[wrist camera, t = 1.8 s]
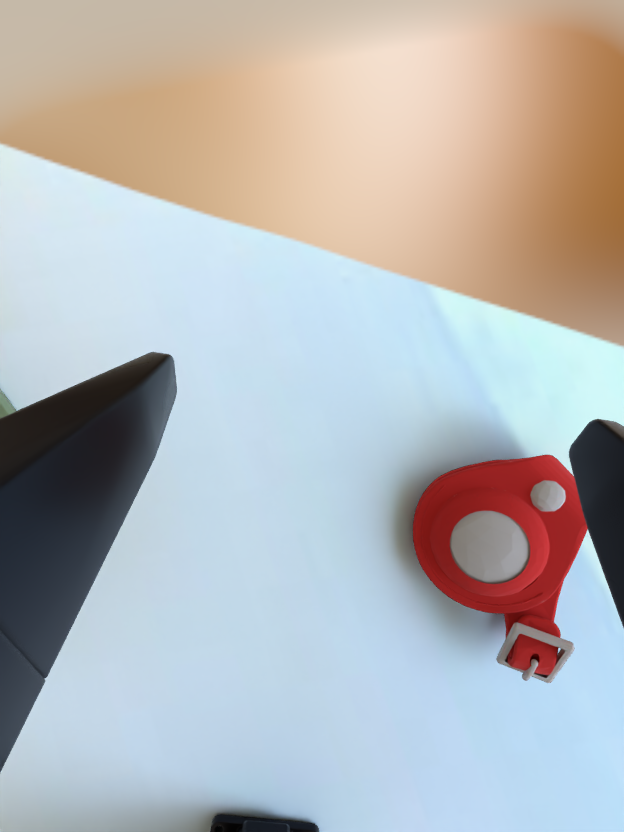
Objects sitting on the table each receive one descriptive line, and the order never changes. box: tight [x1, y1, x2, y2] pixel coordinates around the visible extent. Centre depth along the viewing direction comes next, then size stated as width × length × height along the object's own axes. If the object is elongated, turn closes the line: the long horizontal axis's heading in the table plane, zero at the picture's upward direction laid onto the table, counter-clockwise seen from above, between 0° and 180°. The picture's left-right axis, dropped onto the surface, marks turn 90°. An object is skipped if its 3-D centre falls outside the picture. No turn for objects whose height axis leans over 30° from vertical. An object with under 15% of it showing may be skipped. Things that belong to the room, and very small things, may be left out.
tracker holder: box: [413, 455, 588, 683], centre depth 22 cm, size 12×4×10 cm
